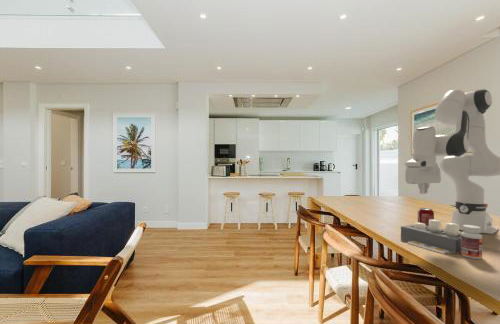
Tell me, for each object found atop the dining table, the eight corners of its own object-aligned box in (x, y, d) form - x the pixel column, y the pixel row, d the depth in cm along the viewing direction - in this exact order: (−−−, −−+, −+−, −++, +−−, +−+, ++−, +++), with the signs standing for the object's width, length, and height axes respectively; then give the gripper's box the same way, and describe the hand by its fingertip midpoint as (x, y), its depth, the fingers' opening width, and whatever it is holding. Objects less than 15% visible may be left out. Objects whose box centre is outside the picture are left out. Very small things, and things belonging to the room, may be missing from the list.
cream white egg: (432, 232, 117) (432, 219, 117) (443, 235, 113) (443, 221, 113) (426, 233, 115) (426, 219, 115) (437, 236, 111) (437, 222, 111)
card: (413, 242, 115) (413, 240, 115) (449, 252, 103) (449, 250, 103) (407, 243, 114) (407, 241, 114) (443, 253, 101) (443, 251, 101)
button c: (448, 236, 111) (449, 222, 111) (460, 239, 107) (461, 224, 107) (442, 237, 109) (443, 223, 109) (454, 240, 105) (455, 225, 105)
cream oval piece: (417, 234, 123) (417, 222, 123) (427, 237, 119) (427, 224, 119) (411, 236, 121) (411, 223, 121) (421, 238, 117) (421, 225, 117)
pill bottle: (483, 260, 94) (484, 229, 94) (462, 257, 98) (462, 226, 98) (480, 255, 100) (480, 225, 100) (459, 252, 103) (460, 223, 103)
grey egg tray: (418, 234, 127) (418, 223, 127) (473, 249, 107) (473, 235, 107) (400, 238, 121) (400, 226, 121) (455, 253, 101) (455, 239, 101)
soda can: (436, 235, 127) (436, 210, 127) (420, 234, 128) (421, 209, 128) (429, 231, 133) (430, 207, 133) (415, 230, 135) (415, 207, 135)
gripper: (430, 162, 125) (430, 191, 125) (402, 162, 117) (402, 193, 117) (445, 162, 120) (444, 193, 120) (417, 162, 111) (416, 195, 111)
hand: (423, 193), depth 118 cm, fingers closed
